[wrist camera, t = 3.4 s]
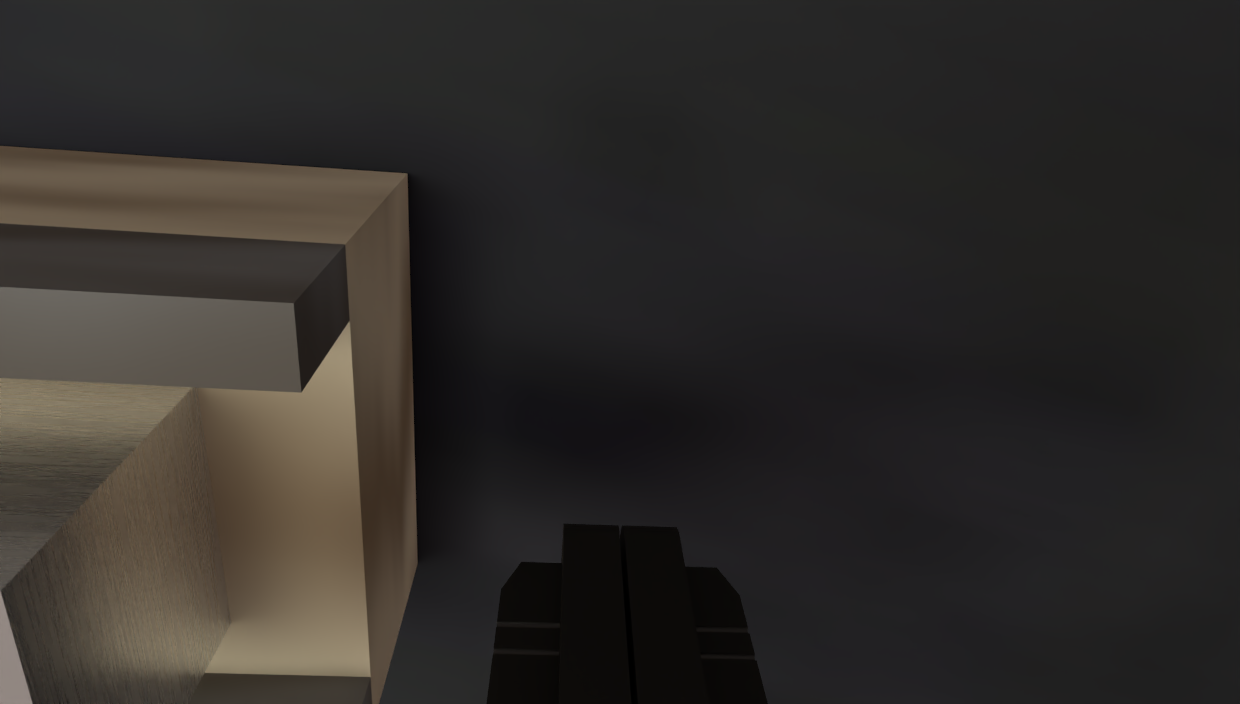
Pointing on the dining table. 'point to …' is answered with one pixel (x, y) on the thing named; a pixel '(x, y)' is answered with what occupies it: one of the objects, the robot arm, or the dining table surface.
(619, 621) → the robot arm
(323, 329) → the slot board
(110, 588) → the light grey cube
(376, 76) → the dining table surface
